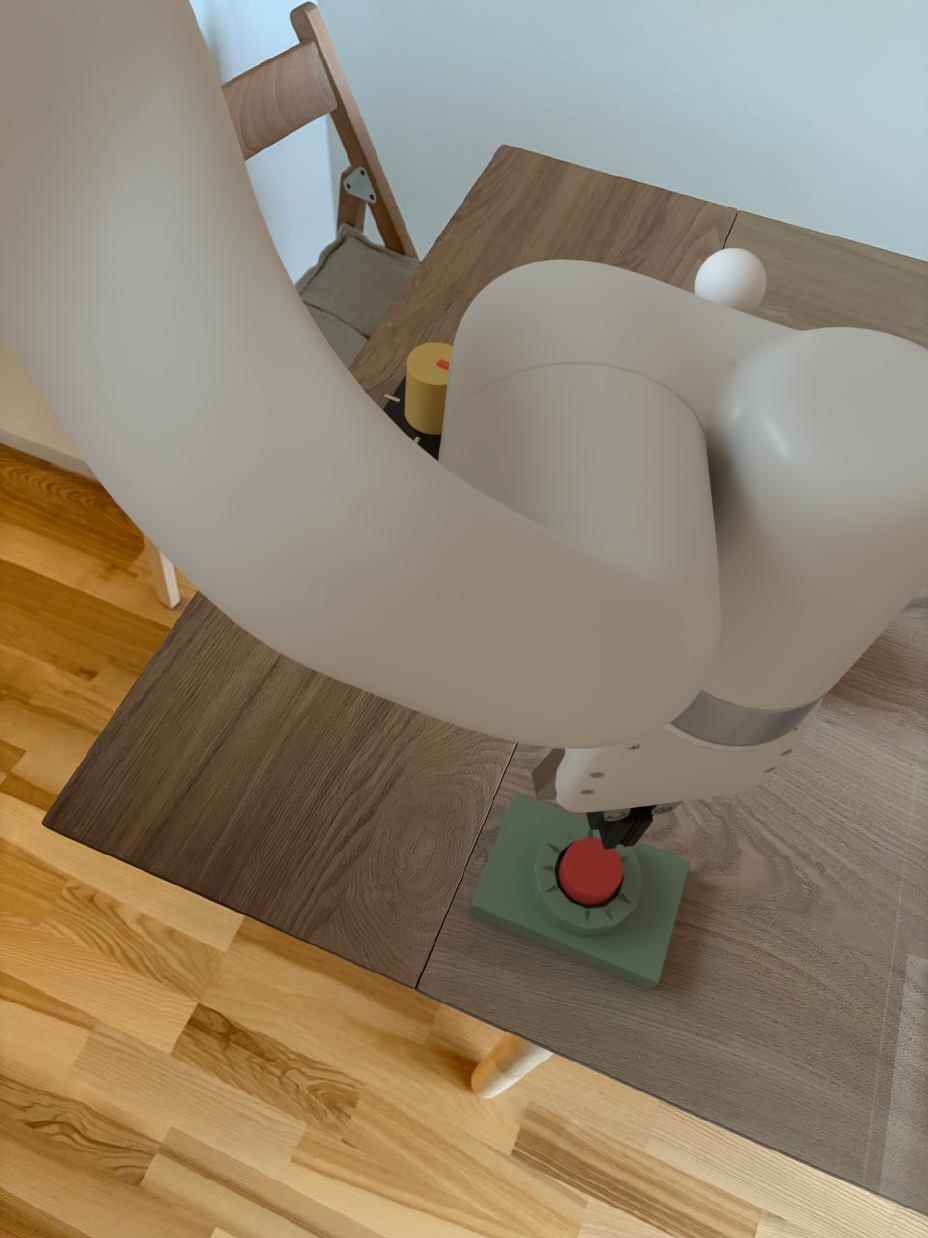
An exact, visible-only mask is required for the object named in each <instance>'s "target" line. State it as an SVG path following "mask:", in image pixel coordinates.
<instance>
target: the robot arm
mask: <svg viewBox="0 0 928 1238" xmlns="http://www.w3.org/2000/svg"><path fill="white" fill-rule="evenodd" d="M197 19H198V18H197V17H196V13H195V11H194V8H193V6H192V4H191V2H190V0H0V344H1V345H2V346H3V347H4V348H5V349H6V350H7V351H8V352H9V353H10V354H11V355H12V356H13V357H14V358H15V359H16V361H17V362H18V363H19V364H20V365H21V366H22V368H23V369H24V371H25V372H26V374H27V375H28V376H29V378H30V379H31V380H32V382H33V384H34V385H35V387H36V388H37V390H38V391H39V393H40V395H41V396H42V397H43V399H44V401H45V403H46V404H47V405H48V407H49V409H50V411H51V412H52V414H53V415H54V417H55V419H56V421H57V422H58V424H59V426H60V427H61V428H62V430H63V431H64V433H65V435H66V436H67V438H68V439H69V441H70V442H71V443H72V445H73V447H74V448H75V450H76V451H77V453H78V454H79V455H80V457H81V458H82V460H83V461H84V463H85V464H86V465H87V467H88V468H89V470H90V471H91V472H92V473H93V475H94V477H95V478H96V479H97V481H98V482H99V483H100V484H101V486H102V487H103V488H104V489H105V490H106V492H107V493H108V494H109V496H110V497H111V498H112V499H113V501H114V502H115V503H116V504H117V505H118V506H119V507H120V509H121V510H122V511H123V512H124V513H125V514H126V515H127V517H128V518H129V519H130V520H131V521H132V523H133V524H134V525H135V526H136V527H137V528H138V529H139V530H140V531H141V532H142V533H143V535H145V536H146V538H147V539H148V540H149V541H150V542H151V543H152V544H153V546H155V548H156V549H158V551H159V552H160V553H162V555H163V556H164V557H165V558H166V559H167V561H168V562H169V563H171V565H173V567H174V568H175V569H176V570H177V571H178V572H179V573H180V574H181V575H182V576H183V577H184V578H185V579H186V580H187V581H188V582H189V583H190V584H191V585H192V586H193V587H195V589H196V590H197V591H198V592H199V593H200V594H202V596H203V597H205V598H206V599H207V600H208V601H209V602H211V603H212V604H213V605H214V606H215V607H217V608H218V609H219V610H220V611H221V612H222V613H223V614H224V615H226V616H227V617H228V618H229V619H230V620H231V621H232V622H234V623H235V624H236V625H237V626H239V627H240V628H241V629H242V630H244V631H245V632H247V633H248V634H250V635H251V636H252V637H254V638H256V639H257V640H259V641H260V642H262V643H263V644H264V645H266V646H267V647H269V648H270V649H272V650H274V651H275V652H277V653H279V654H281V655H282V656H285V657H286V658H288V659H290V660H292V661H294V662H296V663H297V664H300V665H302V666H303V667H305V668H308V669H310V670H312V671H315V672H318V673H319V674H322V675H324V676H326V677H329V678H332V679H334V680H336V681H338V682H341V683H344V684H347V685H349V686H352V687H354V688H357V689H359V690H362V691H365V692H367V693H369V694H372V695H375V696H377V697H380V698H383V699H385V700H387V701H389V702H392V703H394V704H398V705H400V706H403V707H405V708H408V709H410V710H413V711H415V712H418V713H420V714H423V715H426V716H429V717H431V718H434V719H437V720H440V721H442V722H445V723H448V724H451V725H453V726H457V727H460V728H463V729H467V730H469V731H472V732H476V733H480V734H483V735H487V736H490V737H494V738H497V739H501V740H506V741H510V742H514V743H517V744H522V745H523V744H524V745H529V746H535V747H545V748H551V749H552V750H551V751H550V752H549V753H548V754H547V755H546V757H544V758H543V759H542V760H541V761H540V762H539V764H538V765H536V767H534V769H533V770H532V771H531V773H530V774H531V777H532V784H533V789H534V793H535V797H536V800H555V801H556V804H558V805H559V807H561V808H563V809H564V810H566V811H569V812H570V813H571V812H572V813H585V815H586V820H587V821H588V823H589V826H590V828H591V830H597V829H599V833H600V837H601V841H602V845H603V848H604V849H605V850H607V849H614V848H615V847H616V846H617V845H619V844H620V845H623V846H624V847H629V846H634V845H635V844H636V843H637V842H638V841H640V839H641V838H642V836H643V835H644V834H645V833H646V831H647V830H648V829H649V827H650V826H651V825H652V824H653V822H654V819H653V817H654V816H660V815H661V816H662V815H666V814H669V813H671V812H673V811H674V810H676V809H677V808H678V807H679V806H680V805H681V804H682V803H683V802H689V801H696V800H703V799H710V798H716V797H717V798H718V797H723V796H730V795H735V794H739V793H742V792H743V793H744V792H747V791H750V790H753V789H754V788H756V787H758V786H759V785H761V784H762V783H763V782H765V781H766V780H767V779H768V778H769V777H770V776H772V775H773V774H774V773H775V772H776V771H778V769H779V768H780V767H781V766H782V764H783V763H784V762H785V761H786V760H787V759H788V757H790V755H791V754H792V753H793V752H794V750H795V748H796V747H797V746H798V745H799V743H801V740H802V739H803V738H804V736H805V734H806V733H807V731H808V730H809V728H810V727H811V724H812V723H813V721H814V719H815V718H816V716H817V714H818V711H819V709H820V708H821V705H822V703H823V700H824V697H825V696H826V695H827V694H828V693H829V692H830V691H831V690H832V689H833V688H834V687H835V685H837V683H838V682H839V681H840V680H841V679H842V677H844V675H845V674H846V673H847V672H849V670H850V669H851V668H852V667H853V665H855V663H856V662H857V661H858V660H859V659H860V658H861V657H862V655H864V653H865V652H866V651H867V650H868V649H869V648H870V647H871V646H872V645H873V644H874V642H876V640H877V639H878V638H879V637H880V636H881V635H882V634H883V633H884V631H886V629H887V628H888V627H889V626H890V625H891V624H892V623H893V621H895V619H897V617H898V616H899V615H900V614H901V613H902V611H904V609H905V608H906V607H907V606H908V605H909V603H911V602H912V600H913V599H914V598H916V596H917V595H918V594H919V592H920V591H922V589H923V588H924V587H925V586H926V585H927V584H928V349H927V348H926V347H925V346H922V345H920V344H917V343H915V342H913V341H911V340H909V339H906V338H904V337H900V336H897V335H894V334H891V333H889V332H884V331H879V330H874V329H869V328H861V327H852V326H835V327H834V326H833V327H832V326H831V327H820V328H812V329H806V330H800V329H795V328H791V327H788V326H785V325H782V324H779V323H776V322H772V321H770V320H766V319H764V318H760V317H757V316H754V315H752V314H746V313H744V312H741V311H738V310H735V309H733V308H730V307H727V306H725V305H722V304H719V303H716V302H714V301H711V300H708V299H706V298H703V297H700V296H698V295H695V293H693V292H690V291H688V290H686V289H683V288H680V287H677V286H675V285H672V284H669V283H668V282H667V283H666V282H664V281H662V280H660V279H656V278H654V277H651V276H648V275H645V274H641V273H638V272H635V271H632V270H630V269H626V268H622V267H619V266H614V265H610V264H606V263H601V262H595V261H589V260H578V259H549V260H540V261H534V262H531V263H527V264H524V265H521V266H517V267H515V268H513V269H511V270H509V271H507V272H504V273H503V274H501V275H499V276H497V277H496V278H495V279H493V280H492V281H491V282H489V283H488V284H487V285H486V286H485V287H483V288H482V289H481V291H480V292H479V293H477V295H476V296H475V297H474V298H473V299H472V300H471V302H470V304H469V305H468V307H467V308H466V310H465V312H464V313H463V315H462V318H461V320H460V322H459V325H458V327H457V329H456V333H455V335H454V336H455V337H454V341H453V344H452V346H453V348H452V354H451V360H450V365H449V373H448V382H447V391H446V400H445V409H444V418H443V427H442V436H441V444H440V448H439V457H438V461H437V460H435V459H434V458H433V457H432V456H431V455H430V454H428V453H427V452H426V451H425V450H424V449H422V448H421V447H420V446H419V445H418V444H416V443H415V442H414V441H413V440H412V439H411V438H409V437H408V436H407V435H406V434H405V433H404V432H403V431H402V430H401V429H400V428H399V427H398V426H397V425H396V424H395V423H394V422H393V421H392V420H391V419H390V417H389V416H388V415H387V414H386V413H385V412H384V411H383V408H381V407H380V406H379V405H378V403H376V401H374V399H373V398H372V397H371V396H370V395H369V394H368V393H367V392H366V391H365V390H364V388H363V387H362V386H361V384H360V383H359V382H358V381H357V379H356V378H355V376H354V375H353V374H352V373H351V371H349V369H348V367H347V366H346V365H345V363H344V362H343V360H341V359H340V357H339V356H338V355H337V353H336V352H335V351H334V349H333V348H332V347H331V345H330V344H329V342H328V341H327V339H326V337H325V335H324V333H323V332H322V331H321V329H320V327H319V326H318V324H317V323H316V321H315V319H314V318H313V316H312V314H311V313H310V311H309V309H308V308H307V306H306V305H305V302H303V300H302V299H301V296H300V294H299V292H298V290H297V288H296V285H295V284H294V282H293V280H292V278H291V276H290V274H289V272H288V269H287V268H286V266H285V264H284V262H283V260H282V258H281V256H280V253H279V252H278V250H277V247H276V245H275V242H274V239H273V237H272V235H271V232H270V230H269V227H268V225H267V222H266V221H265V217H264V215H263V213H262V210H261V208H260V205H259V202H258V199H257V196H256V193H255V188H254V186H253V184H252V180H251V177H250V173H249V171H248V167H247V165H246V161H245V158H244V155H243V152H242V148H241V145H240V142H239V139H238V135H237V133H236V130H235V127H234V123H233V120H232V117H231V114H230V110H229V108H228V104H227V101H226V98H225V95H224V92H223V88H222V85H221V81H220V78H219V75H218V73H217V70H216V67H215V64H214V62H213V59H212V55H211V53H210V50H209V47H208V44H207V42H206V39H205V37H204V35H203V33H202V30H201V27H200V25H199V22H198V20H197Z"/></svg>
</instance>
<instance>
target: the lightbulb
mask: <svg viewBox="0 0 928 1238" xmlns="http://www.w3.org/2000/svg"><path fill="white" fill-rule="evenodd" d="M766 290H767V274H766V270H765V267H764V264H763V263H762V262H761V260H760V259H759V257H757V256H756V255H755V254H753V253H752V252H750V251H748V250H746V249H744V248H741V247H739V248H738V247H728V248H723V249H720V250H718V251H716V252H714V253H712V254H711V255H709V256H708V258H706V260H705V261H704V262H703V263H702V264H701V266H700V268H699V269H698V270H697V273H696V276H695V280H694V294H695V295H698V296H700V297H703V298H706V299H708V300H711V301H714V302H716V303H719V304H722V305H725V306H727V307H730V308H733V309H735V310H738V311H741V312H744V313H746V314H749V315H751V313H752V312H754V311H755V310H756V309H757V308H758V306H759V305H760V304H761V303H762V301H763V298H764V296H765V294H766Z"/></svg>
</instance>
